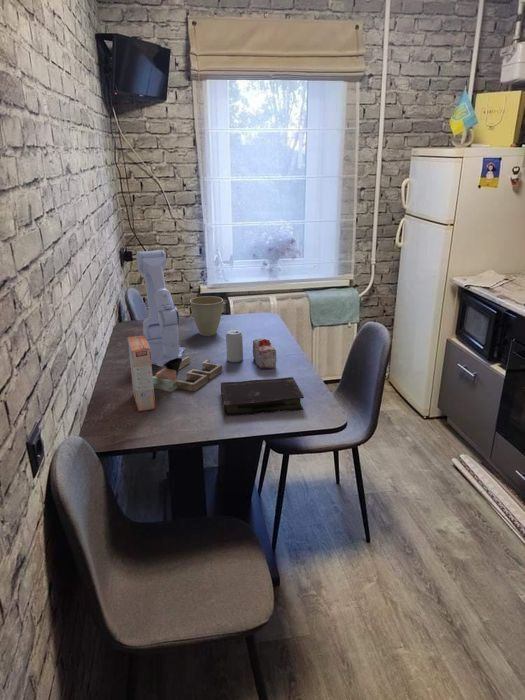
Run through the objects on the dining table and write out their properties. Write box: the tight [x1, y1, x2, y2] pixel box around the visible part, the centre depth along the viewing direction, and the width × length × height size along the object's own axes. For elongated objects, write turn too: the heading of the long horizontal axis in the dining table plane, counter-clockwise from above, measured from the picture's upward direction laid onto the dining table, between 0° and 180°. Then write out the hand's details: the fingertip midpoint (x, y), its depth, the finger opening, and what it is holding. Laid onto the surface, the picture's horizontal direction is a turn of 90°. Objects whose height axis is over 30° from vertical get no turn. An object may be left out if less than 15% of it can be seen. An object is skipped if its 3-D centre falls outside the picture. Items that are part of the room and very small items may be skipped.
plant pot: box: [189, 295, 224, 337], centre depth 223 cm, size 15×15×16 cm
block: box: [155, 367, 178, 382], centre depth 172 cm, size 5×5×5 cm
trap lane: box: [153, 355, 223, 393], centre depth 178 cm, size 17×25×4 cm
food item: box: [252, 338, 277, 370], centre depth 189 cm, size 14×8×10 cm, turn 16°
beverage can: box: [225, 329, 244, 363], centre depth 192 cm, size 6×6×12 cm
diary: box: [220, 376, 305, 417], centre depth 160 cm, size 19×25×5 cm
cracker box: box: [127, 334, 156, 412], centre depth 158 cm, size 14×6×21 cm, turn 20°
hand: (173, 377), depth 176 cm, fingers closed
